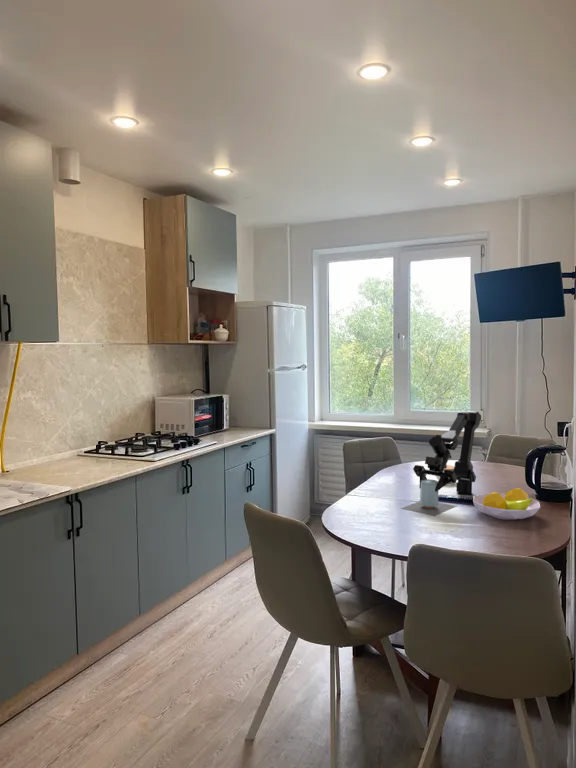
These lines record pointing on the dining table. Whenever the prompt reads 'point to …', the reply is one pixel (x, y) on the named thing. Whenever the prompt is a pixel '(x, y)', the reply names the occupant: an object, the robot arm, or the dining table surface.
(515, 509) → the fruit bowl
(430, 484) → the dome-topped octagonal prism
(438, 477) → the lidded jar
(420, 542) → the dining table surface
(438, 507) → the placemat
